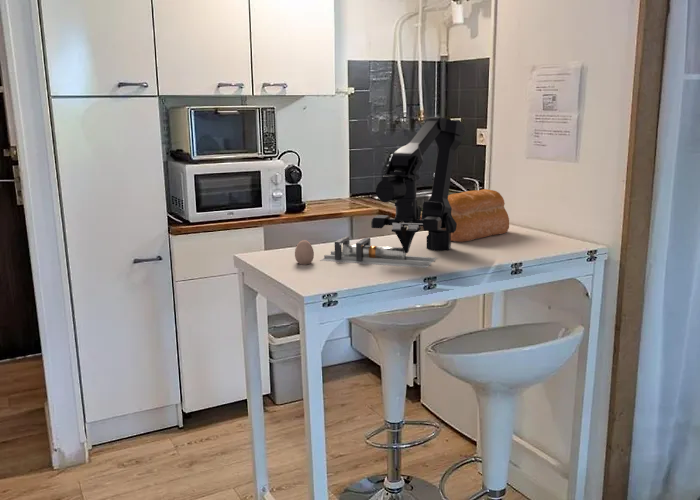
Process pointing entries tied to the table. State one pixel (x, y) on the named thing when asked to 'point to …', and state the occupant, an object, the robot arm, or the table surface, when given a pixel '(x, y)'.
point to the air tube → (375, 252)
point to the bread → (478, 214)
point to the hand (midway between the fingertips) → (406, 252)
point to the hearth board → (384, 260)
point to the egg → (304, 252)
